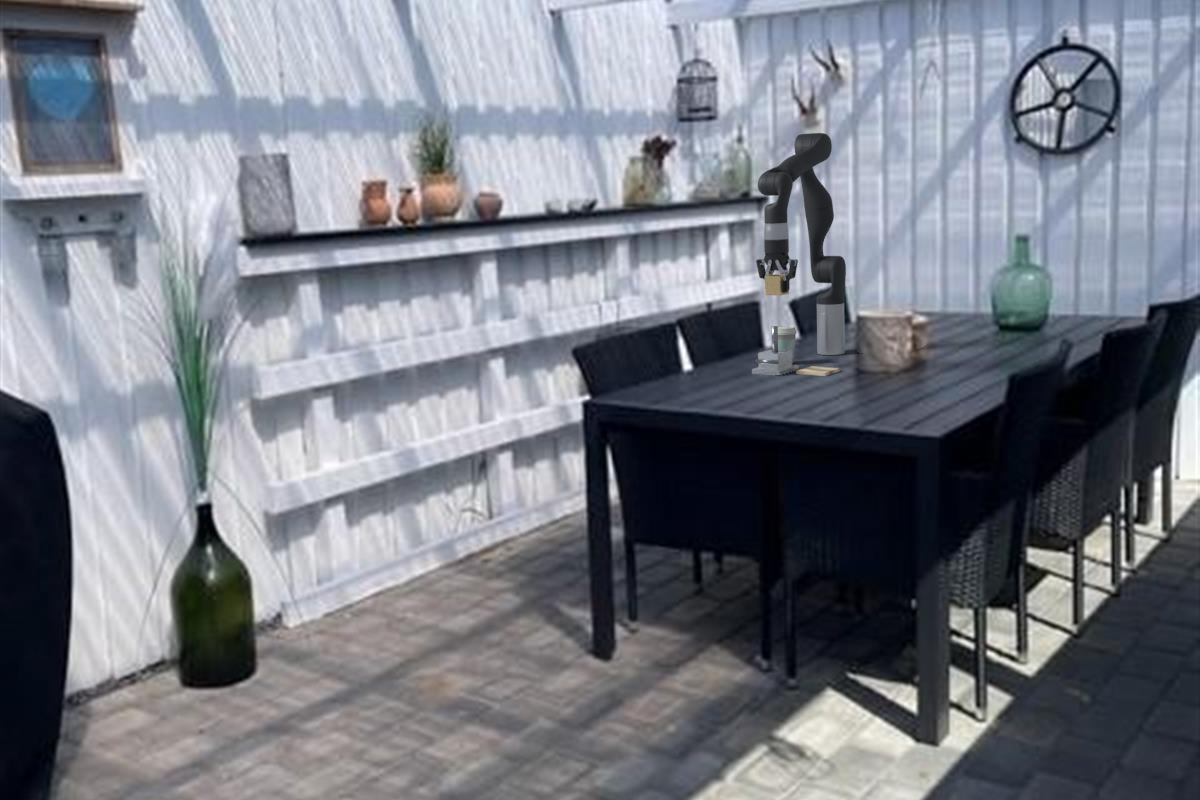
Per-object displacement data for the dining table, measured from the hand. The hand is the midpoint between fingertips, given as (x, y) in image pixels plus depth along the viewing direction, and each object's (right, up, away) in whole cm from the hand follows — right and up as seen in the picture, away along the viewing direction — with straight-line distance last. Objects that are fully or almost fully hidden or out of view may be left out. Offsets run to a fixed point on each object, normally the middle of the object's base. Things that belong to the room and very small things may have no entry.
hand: (777, 292), depth 401 cm
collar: (0, -1, 0) cm, 1 cm away
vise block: (0, -25, +5) cm, 25 cm away
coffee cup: (+5, -22, +21) cm, 31 cm away
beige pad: (+13, -25, 0) cm, 28 cm away
